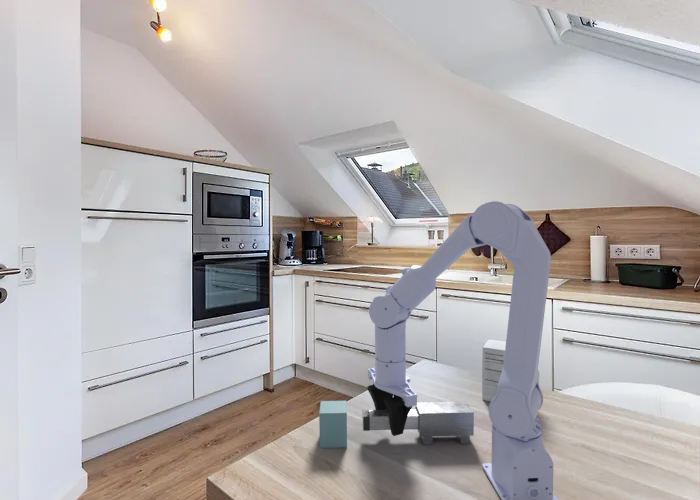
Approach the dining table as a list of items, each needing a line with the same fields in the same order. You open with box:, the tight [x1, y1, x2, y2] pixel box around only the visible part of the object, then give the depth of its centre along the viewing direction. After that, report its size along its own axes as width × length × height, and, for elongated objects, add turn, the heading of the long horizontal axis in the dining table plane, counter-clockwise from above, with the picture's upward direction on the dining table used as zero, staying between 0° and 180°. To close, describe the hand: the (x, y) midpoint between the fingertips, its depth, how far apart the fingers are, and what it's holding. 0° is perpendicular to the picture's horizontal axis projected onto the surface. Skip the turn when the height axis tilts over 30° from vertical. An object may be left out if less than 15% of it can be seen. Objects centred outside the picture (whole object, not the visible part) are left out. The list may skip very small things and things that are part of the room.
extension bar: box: [362, 408, 419, 432], centre depth 73 cm, size 3×17×3 cm, turn 91°
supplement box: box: [481, 339, 506, 402], centre depth 91 cm, size 7×7×13 cm
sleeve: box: [414, 401, 475, 446], centre depth 74 cm, size 4×10×6 cm, turn 91°
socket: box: [318, 400, 348, 449], centre depth 73 cm, size 5×5×6 cm
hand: (390, 427), depth 74 cm, fingers closed on extension bar, 4 cm apart
